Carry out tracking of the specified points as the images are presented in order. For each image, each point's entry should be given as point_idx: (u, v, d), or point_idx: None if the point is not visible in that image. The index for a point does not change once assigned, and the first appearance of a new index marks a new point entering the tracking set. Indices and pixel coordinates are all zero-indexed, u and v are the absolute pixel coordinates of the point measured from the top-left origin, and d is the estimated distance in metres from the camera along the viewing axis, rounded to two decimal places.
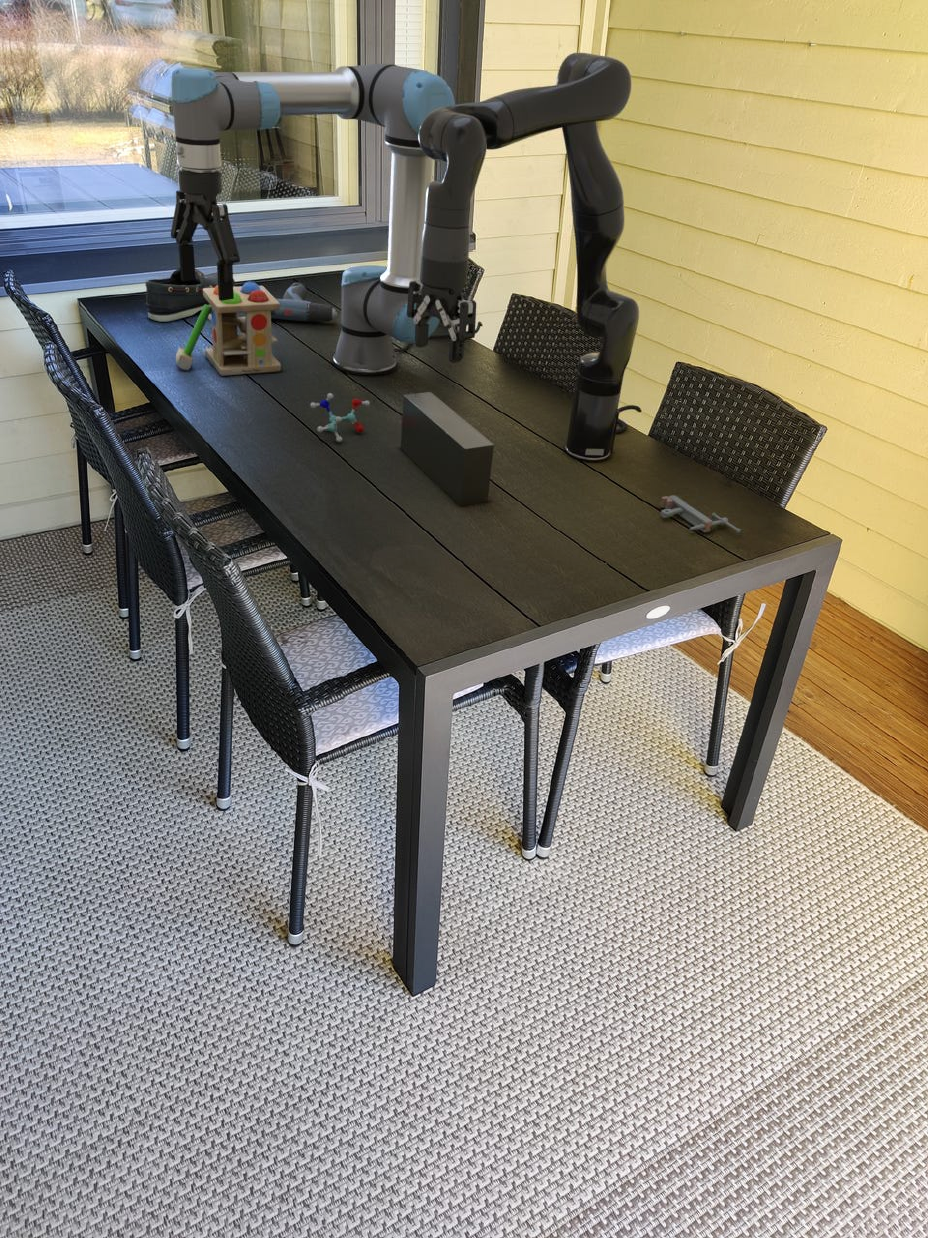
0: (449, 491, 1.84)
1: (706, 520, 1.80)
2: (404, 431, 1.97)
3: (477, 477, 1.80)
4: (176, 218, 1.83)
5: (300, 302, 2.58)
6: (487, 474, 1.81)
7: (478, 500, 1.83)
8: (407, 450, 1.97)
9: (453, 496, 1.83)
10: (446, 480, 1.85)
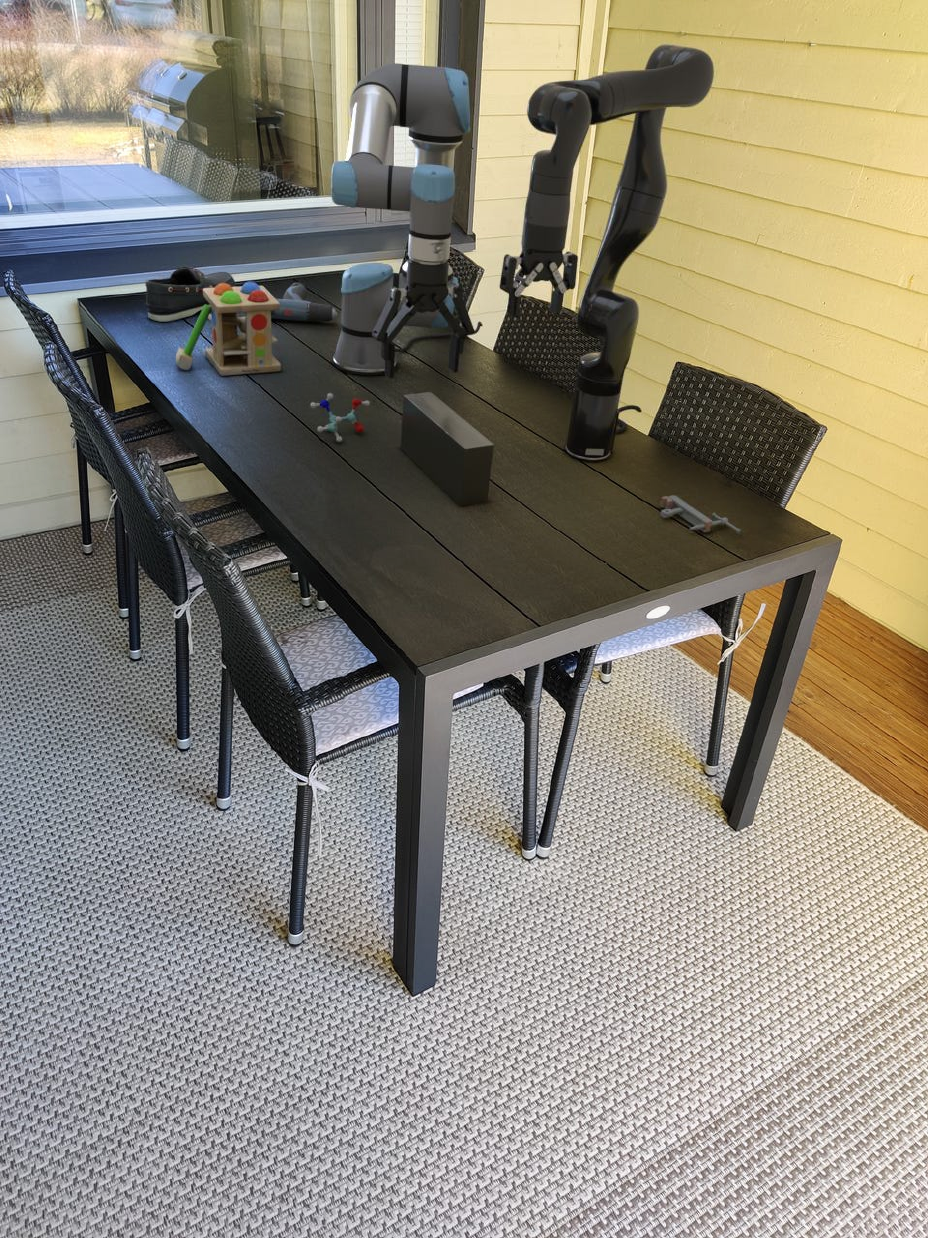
0: (449, 491, 1.84)
1: (706, 520, 1.80)
2: (404, 431, 1.97)
3: (477, 477, 1.80)
4: (391, 318, 1.79)
5: (300, 302, 2.58)
6: (487, 474, 1.81)
7: (478, 500, 1.83)
8: (407, 450, 1.97)
9: (453, 496, 1.83)
10: (446, 480, 1.85)
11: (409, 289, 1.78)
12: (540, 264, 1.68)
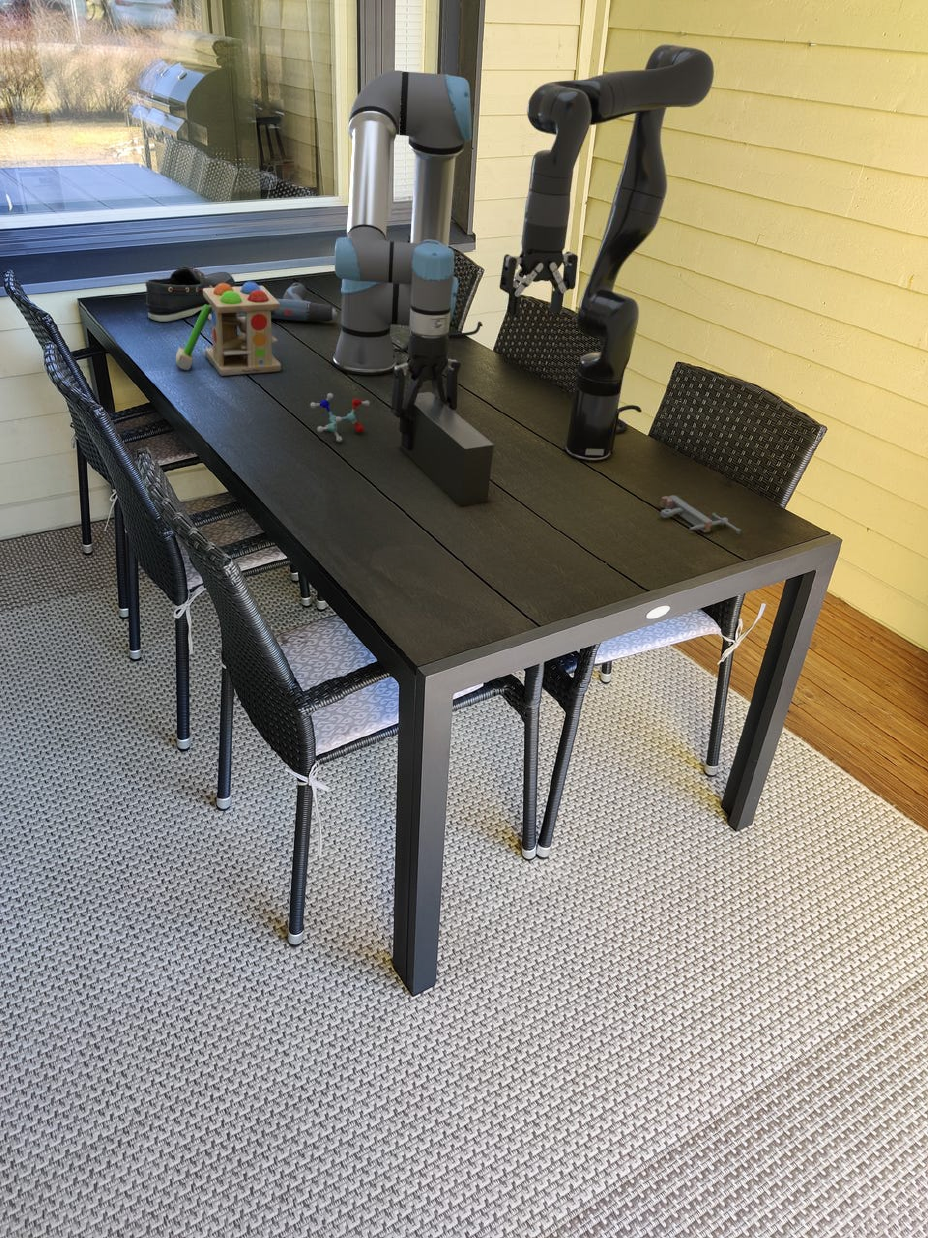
0: (449, 491, 1.84)
1: (706, 520, 1.80)
2: None
3: (477, 477, 1.80)
4: (402, 394, 1.88)
5: (300, 302, 2.58)
6: (487, 474, 1.81)
7: (478, 500, 1.83)
8: (407, 450, 1.97)
9: (453, 496, 1.83)
10: (446, 480, 1.85)
11: (409, 362, 1.86)
12: (540, 264, 1.68)
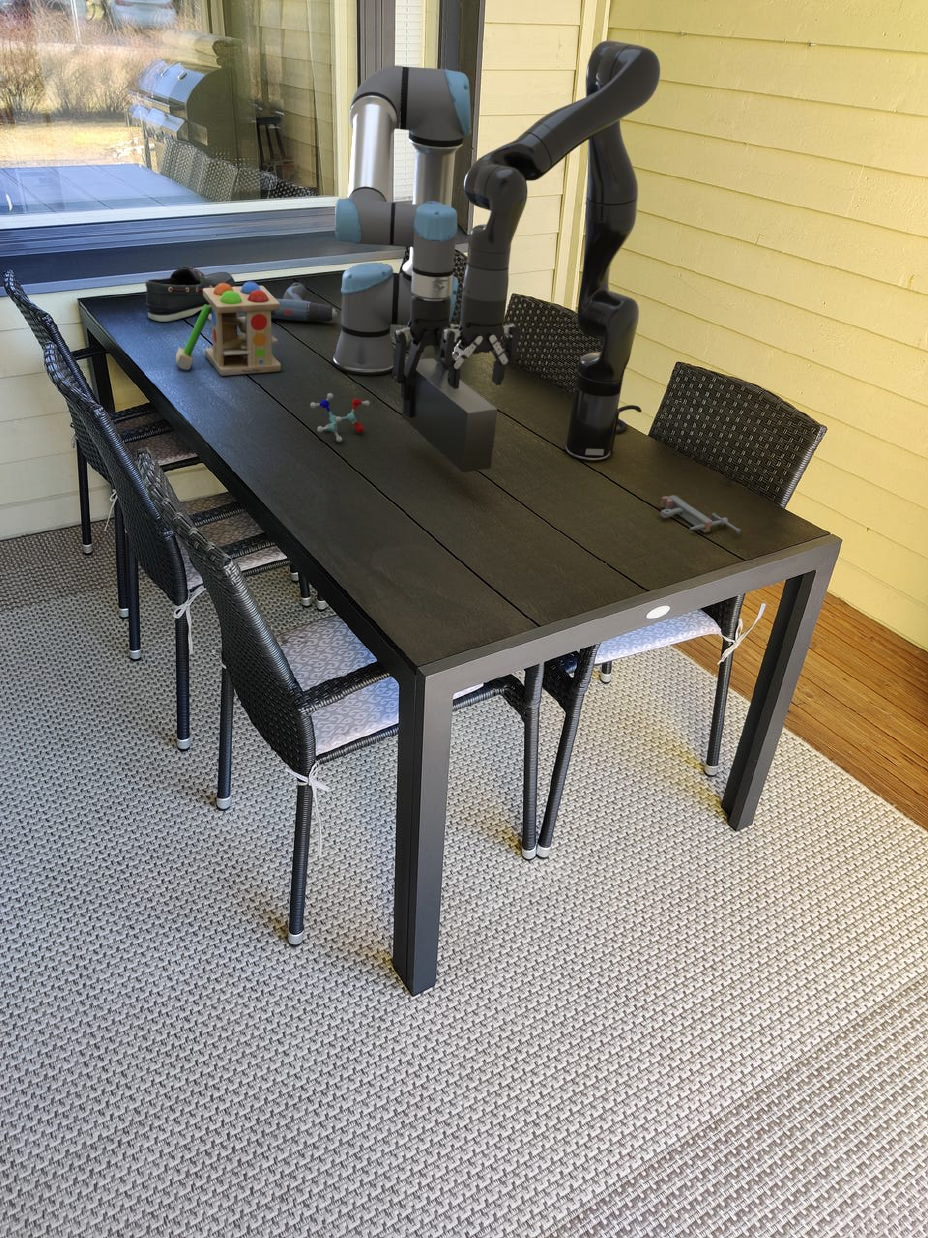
0: (452, 458, 1.80)
1: (706, 520, 1.80)
2: None
3: (480, 443, 1.76)
4: (404, 359, 1.84)
5: (300, 302, 2.58)
6: (490, 440, 1.77)
7: (481, 467, 1.79)
8: (408, 418, 1.94)
9: (456, 462, 1.79)
10: (448, 446, 1.81)
11: (411, 326, 1.82)
12: (479, 337, 1.66)
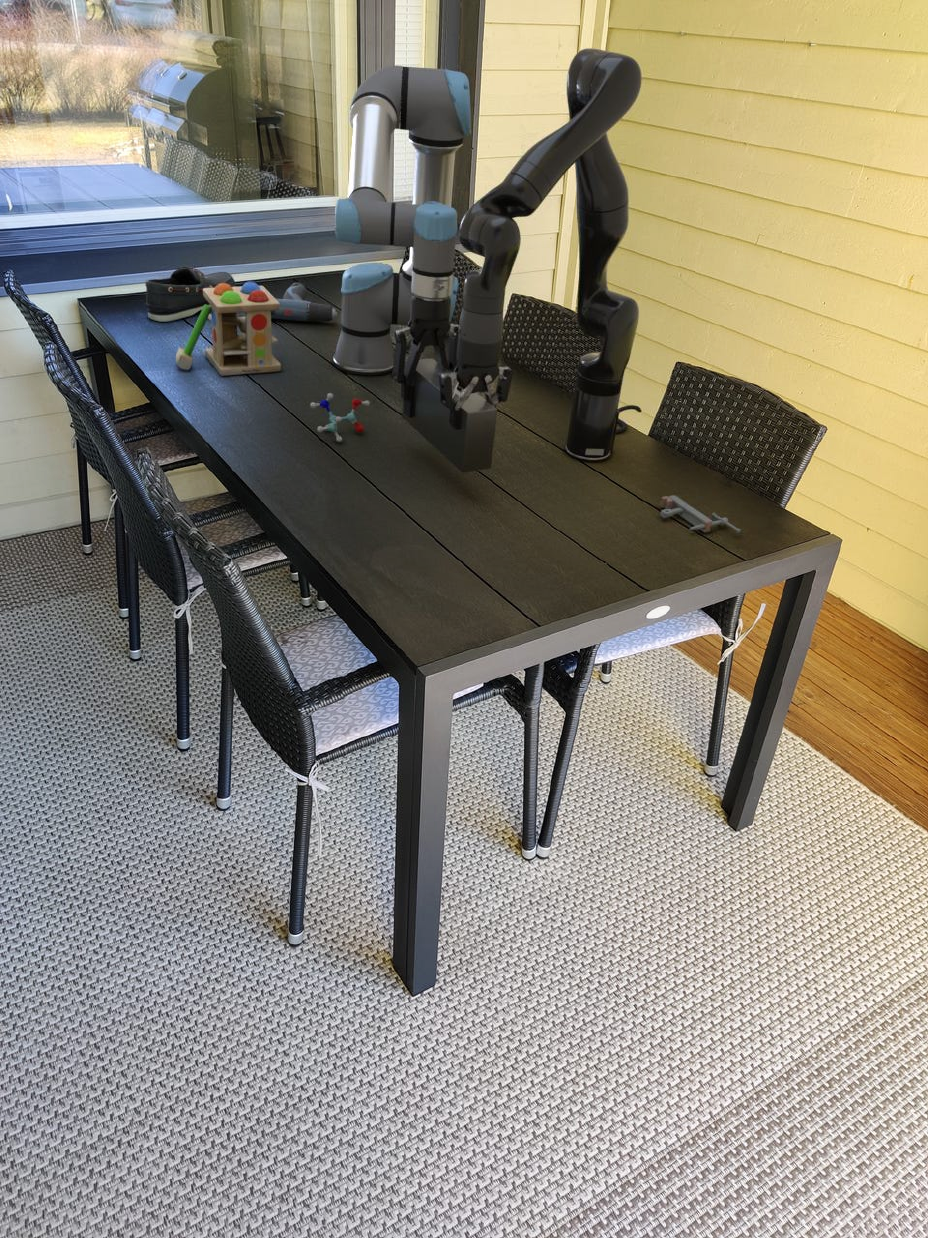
0: (452, 458, 1.80)
1: (706, 520, 1.80)
2: None
3: (480, 443, 1.76)
4: (404, 359, 1.84)
5: (300, 302, 2.58)
6: (490, 440, 1.77)
7: (481, 467, 1.79)
8: (408, 418, 1.94)
9: (456, 462, 1.79)
10: (448, 447, 1.81)
11: (411, 326, 1.82)
12: (475, 378, 1.70)
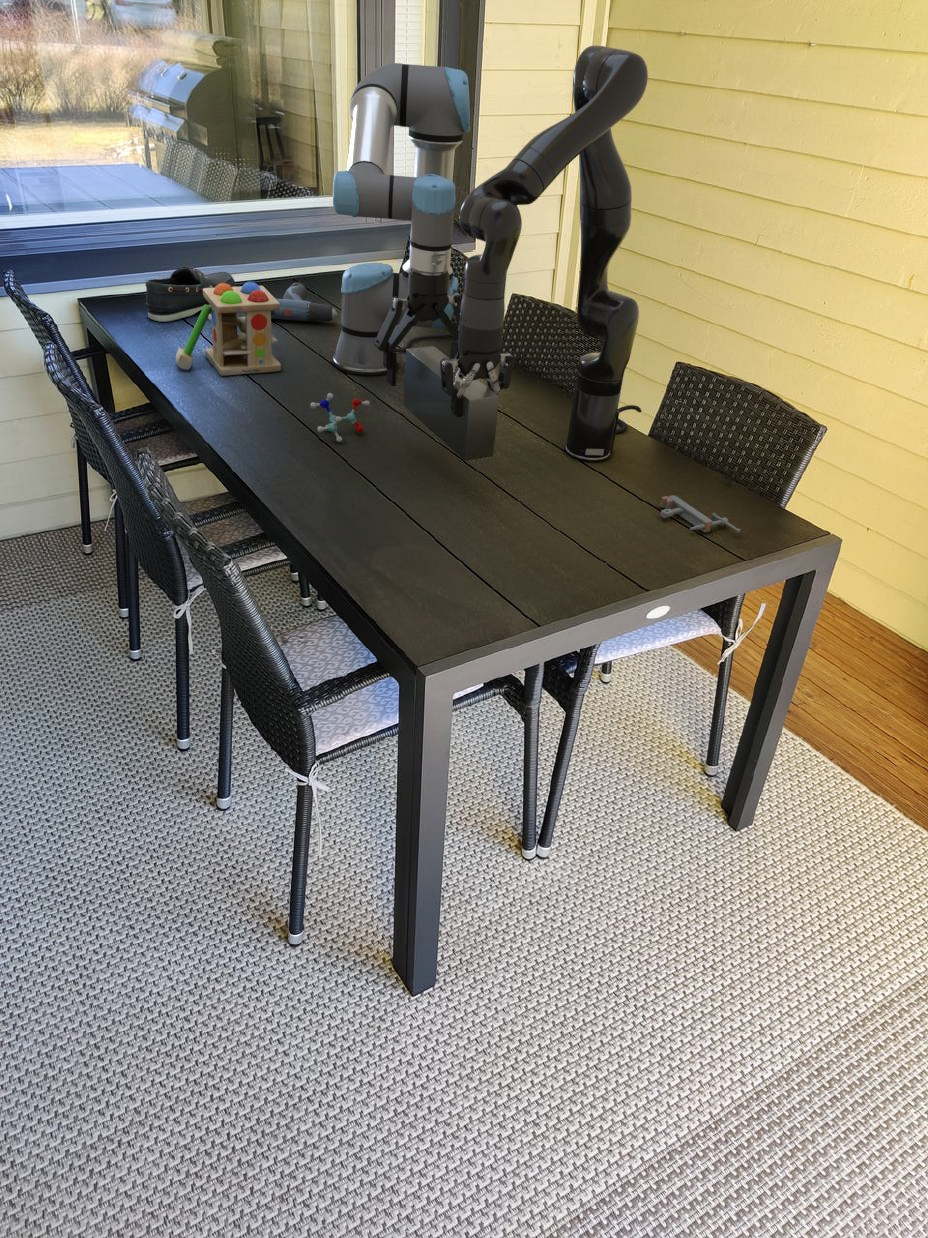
0: (454, 446, 1.79)
1: (706, 520, 1.80)
2: (407, 387, 1.92)
3: (482, 431, 1.75)
4: (393, 328, 1.82)
5: (300, 302, 2.58)
6: (492, 427, 1.76)
7: (483, 455, 1.78)
8: (410, 407, 1.92)
9: (458, 450, 1.78)
10: (450, 434, 1.80)
11: (410, 299, 1.80)
12: (476, 364, 1.69)
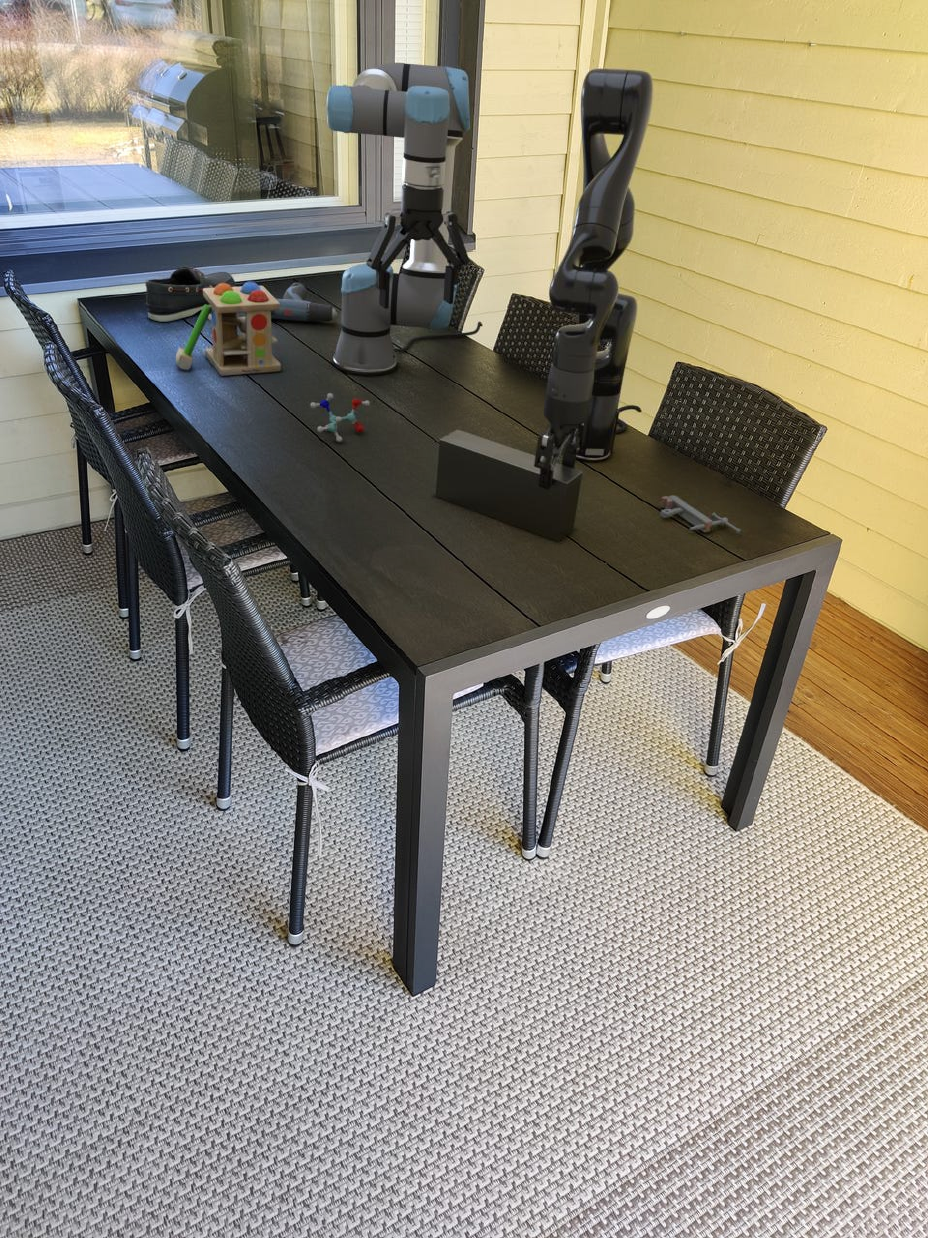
0: (538, 529, 1.75)
1: (706, 520, 1.80)
2: (442, 477, 1.81)
3: (570, 509, 1.73)
4: (385, 246, 1.77)
5: (300, 302, 2.58)
6: (576, 503, 1.74)
7: (568, 531, 1.76)
8: (449, 497, 1.82)
9: (546, 533, 1.74)
10: (530, 519, 1.75)
11: (404, 215, 1.76)
12: (570, 435, 1.65)
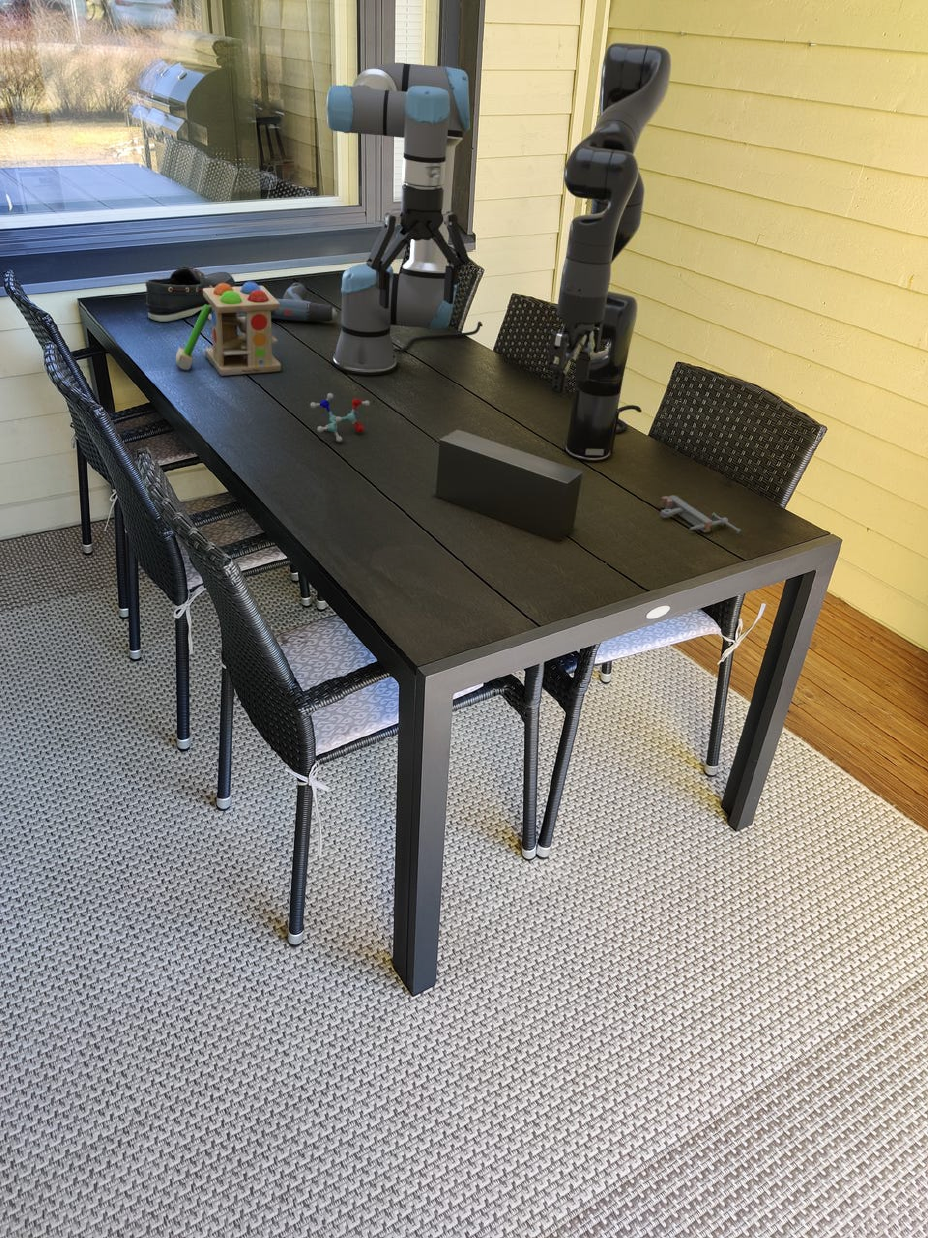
0: (538, 529, 1.75)
1: (706, 520, 1.80)
2: (442, 477, 1.81)
3: (570, 509, 1.73)
4: (385, 246, 1.77)
5: (300, 302, 2.58)
6: (576, 503, 1.74)
7: (568, 531, 1.76)
8: (449, 497, 1.82)
9: (546, 533, 1.74)
10: (530, 519, 1.75)
11: (404, 215, 1.76)
12: (585, 336, 1.55)
